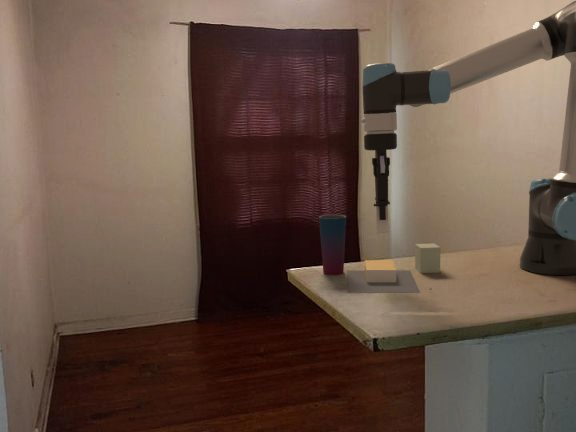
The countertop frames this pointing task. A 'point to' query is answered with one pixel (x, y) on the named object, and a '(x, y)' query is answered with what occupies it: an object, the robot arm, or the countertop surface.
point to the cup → (333, 243)
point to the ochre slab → (380, 271)
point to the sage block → (427, 258)
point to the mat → (381, 283)
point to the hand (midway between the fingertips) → (382, 232)
